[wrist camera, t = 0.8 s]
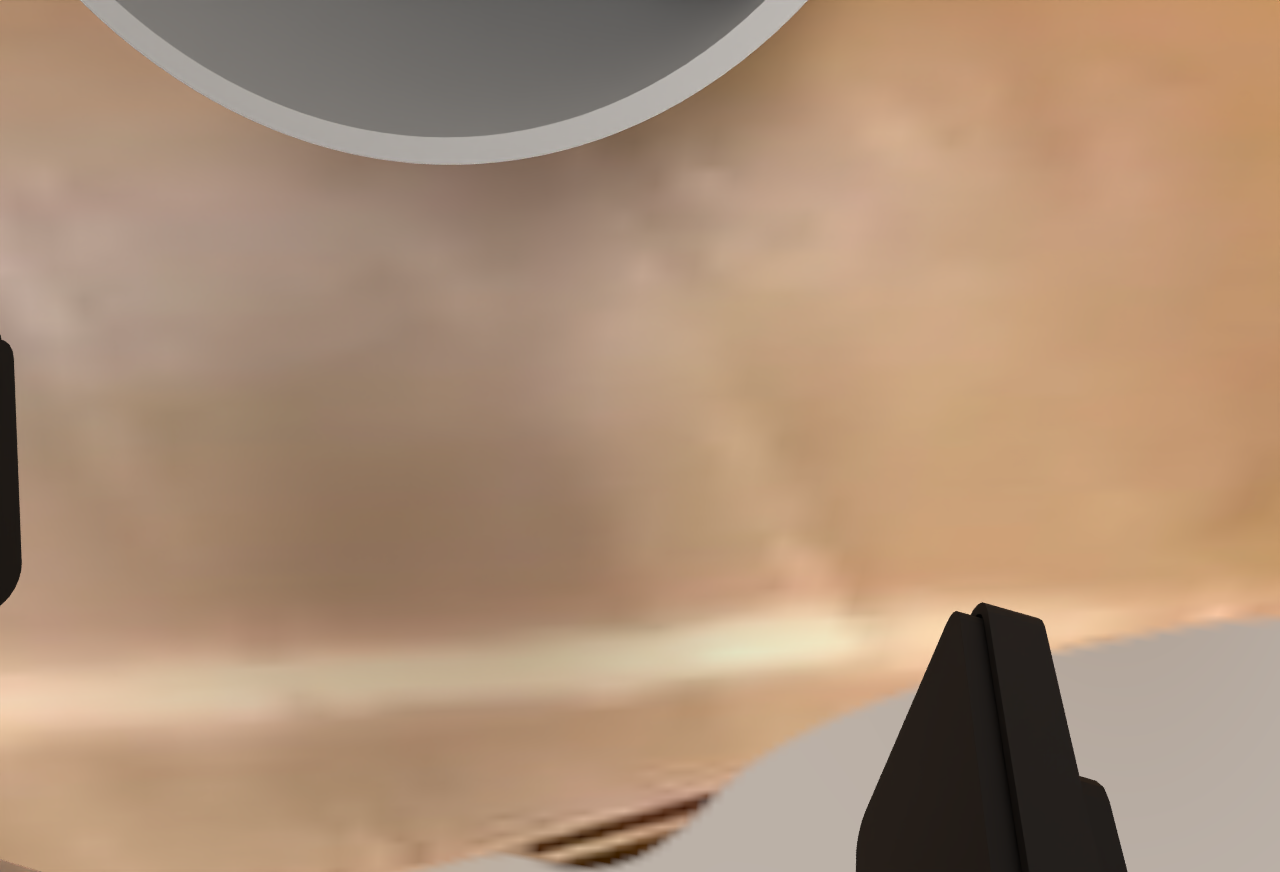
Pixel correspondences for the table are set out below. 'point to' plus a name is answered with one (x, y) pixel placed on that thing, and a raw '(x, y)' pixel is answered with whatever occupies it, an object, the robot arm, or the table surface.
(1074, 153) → the table surface
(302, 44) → the cylinder vase
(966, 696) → the robot arm
